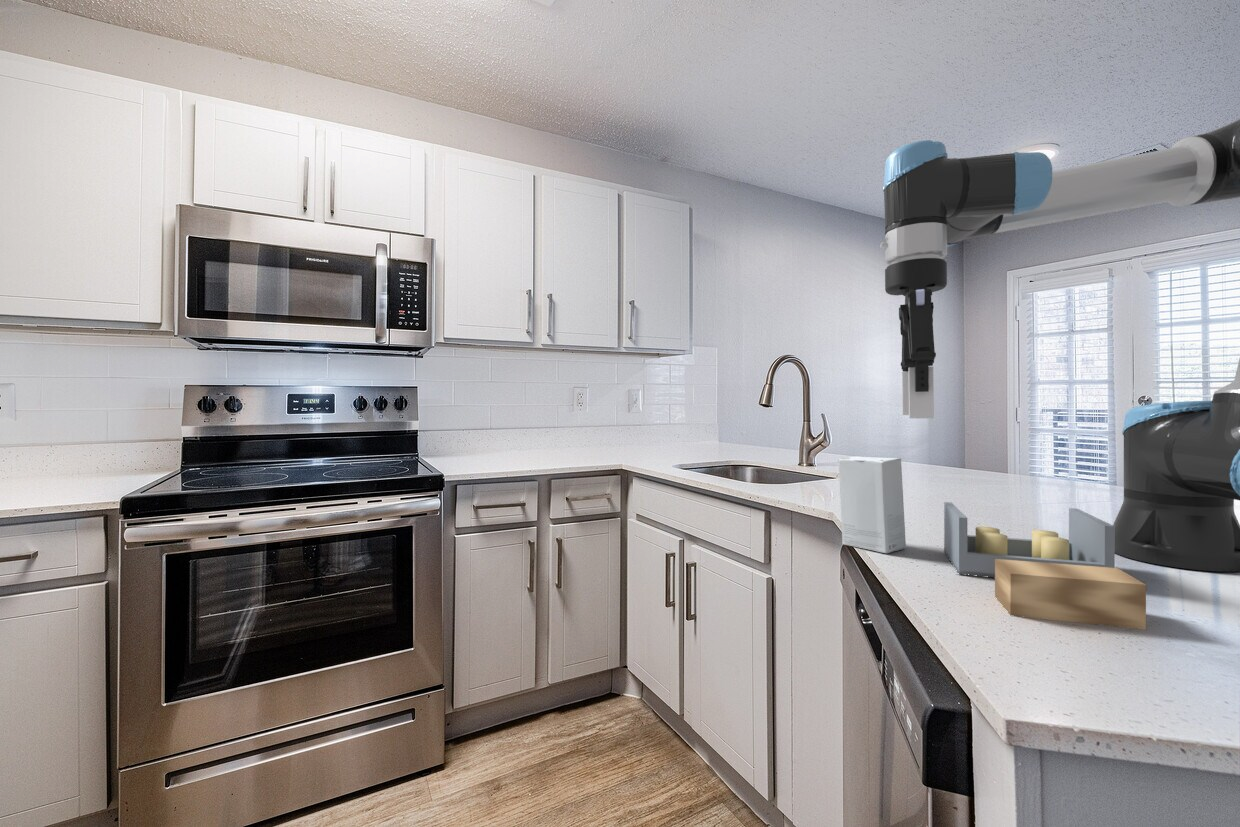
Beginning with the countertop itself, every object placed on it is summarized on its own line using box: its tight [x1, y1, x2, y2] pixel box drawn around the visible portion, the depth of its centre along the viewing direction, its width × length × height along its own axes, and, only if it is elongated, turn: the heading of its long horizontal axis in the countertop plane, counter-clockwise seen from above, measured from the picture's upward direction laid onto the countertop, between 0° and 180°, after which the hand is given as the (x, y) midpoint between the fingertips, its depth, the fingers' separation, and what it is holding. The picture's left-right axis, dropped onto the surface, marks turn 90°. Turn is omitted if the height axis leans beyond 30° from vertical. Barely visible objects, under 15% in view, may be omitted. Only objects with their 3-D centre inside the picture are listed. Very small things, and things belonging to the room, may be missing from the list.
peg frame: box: [943, 501, 1116, 578], centre depth 78 cm, size 17×12×8 cm
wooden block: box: [994, 559, 1147, 630], centre depth 62 cm, size 12×6×5 cm, turn 70°
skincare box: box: [838, 455, 907, 554], centre depth 91 cm, size 8×6×15 cm
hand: (916, 416), depth 76 cm, fingers open, 13 cm apart
